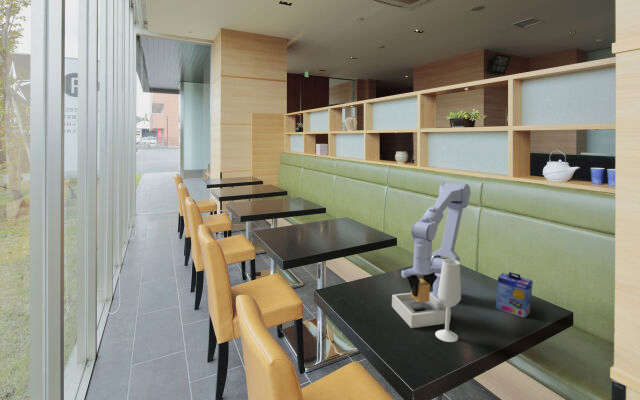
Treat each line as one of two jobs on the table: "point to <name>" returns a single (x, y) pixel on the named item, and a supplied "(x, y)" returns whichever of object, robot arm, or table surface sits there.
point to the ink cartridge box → (514, 294)
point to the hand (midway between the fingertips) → (420, 294)
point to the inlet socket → (419, 306)
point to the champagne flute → (449, 295)
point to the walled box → (419, 318)
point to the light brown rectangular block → (422, 291)
